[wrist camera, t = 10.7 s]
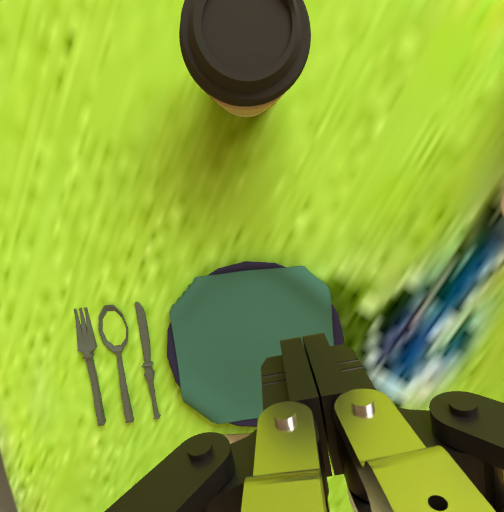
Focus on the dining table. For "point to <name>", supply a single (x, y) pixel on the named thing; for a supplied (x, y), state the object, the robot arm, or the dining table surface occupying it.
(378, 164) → the dining table surface
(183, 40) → the coffee cup
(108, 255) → the dining table surface
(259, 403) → the cutlery set
